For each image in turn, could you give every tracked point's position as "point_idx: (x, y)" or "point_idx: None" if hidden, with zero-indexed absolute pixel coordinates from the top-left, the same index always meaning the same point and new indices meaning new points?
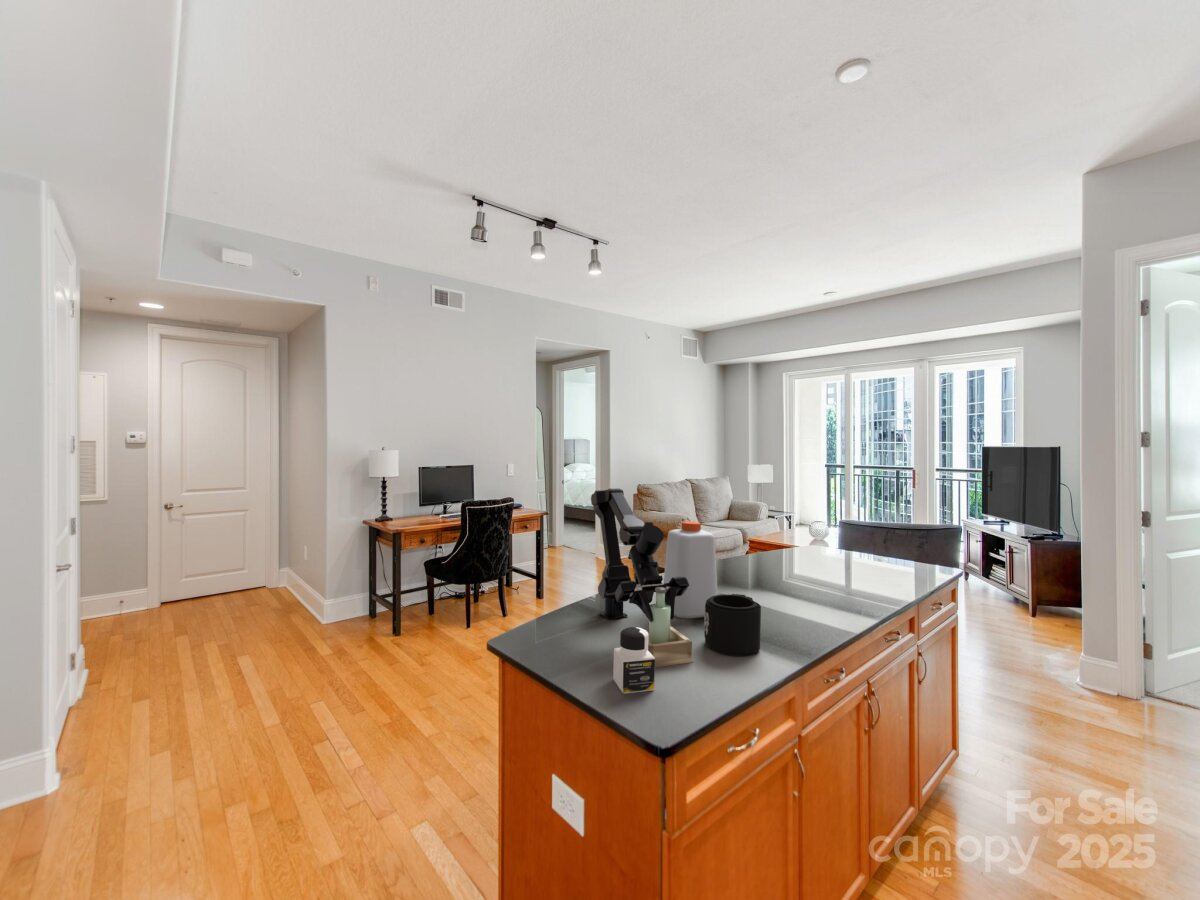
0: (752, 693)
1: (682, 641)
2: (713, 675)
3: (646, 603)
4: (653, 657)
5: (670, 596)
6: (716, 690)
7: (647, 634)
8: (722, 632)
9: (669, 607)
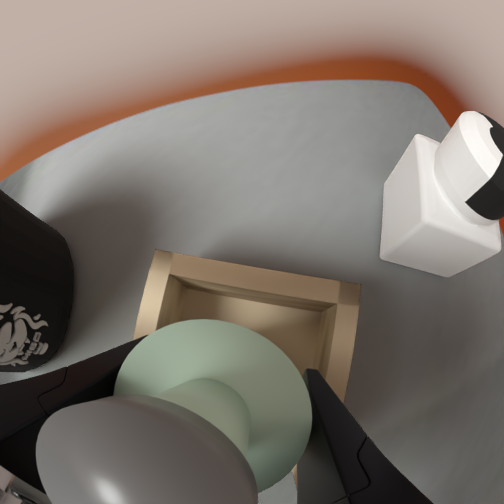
0: (192, 101)
1: (189, 266)
2: (192, 179)
3: (367, 450)
4: (420, 134)
5: (50, 409)
6: (247, 127)
7: (463, 114)
8: (35, 244)
9: (142, 353)
